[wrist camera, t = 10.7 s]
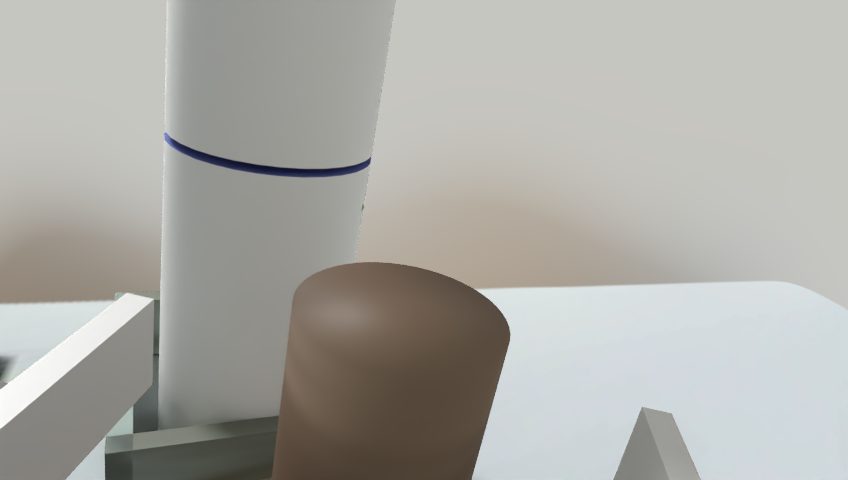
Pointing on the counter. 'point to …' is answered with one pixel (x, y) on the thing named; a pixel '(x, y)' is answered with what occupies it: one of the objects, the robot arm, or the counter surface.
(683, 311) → the counter surface
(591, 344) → the counter surface
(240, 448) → the holder stand
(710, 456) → the counter surface
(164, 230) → the cylindrical container
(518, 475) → the counter surface
